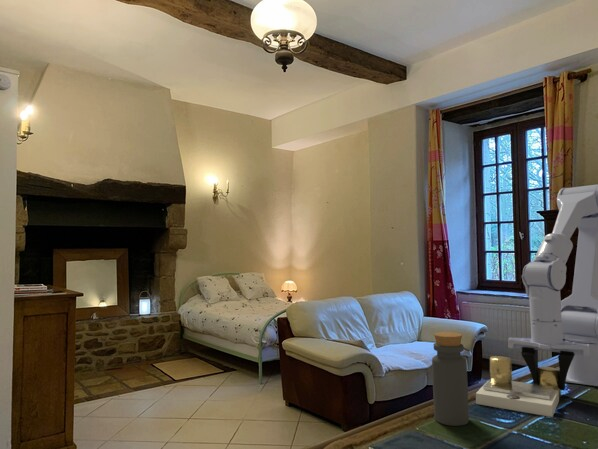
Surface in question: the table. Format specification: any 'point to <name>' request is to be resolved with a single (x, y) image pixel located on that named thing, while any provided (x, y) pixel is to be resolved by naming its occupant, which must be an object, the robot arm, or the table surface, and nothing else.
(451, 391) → the bottle
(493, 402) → the scale
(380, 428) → the table surface
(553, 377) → the cylinder
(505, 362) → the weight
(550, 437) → the table surface
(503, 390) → the scale pan
